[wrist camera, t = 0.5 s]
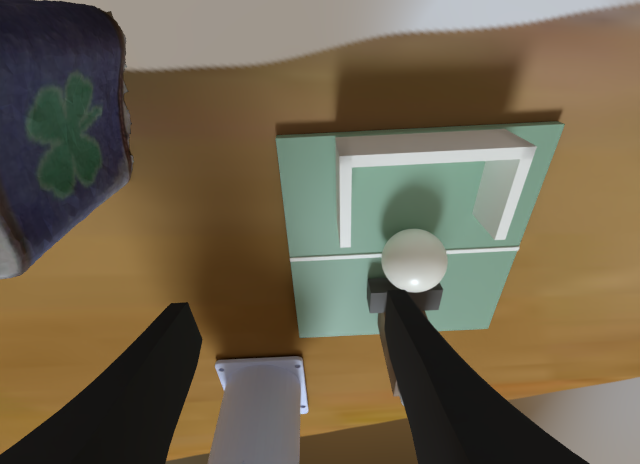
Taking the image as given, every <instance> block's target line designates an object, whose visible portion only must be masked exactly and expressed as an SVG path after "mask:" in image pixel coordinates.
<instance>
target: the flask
mask: <svg viewBox="0 0 640 464" xmlns="http://www.w3.org/2000/svg"><path fill="white" fill-rule="evenodd" d="M125 44H126V38H125V35H124V34H123V32H122V30H121V28H120V26H118V23H117V22H116V21H115V20H114V19H113V16H112V13H111V11H110V12H104V11H102V10H101V9H100V8H96V7H95V6H89V5H85V4H76V3H70V2H63V1H47V0H43V1H35V0H0V279H6V278H12V277H16V276H20V275H22V274H23V273H24V272H26V271H27V270H28V268H29V267H30V266H31V265H33V264H34V263H35V261H36V260H37V259H39V258H40V257H41V256H42V255H43V254H44V253H45V252H46V251H47V250H48V249H50V248H51V247H52V246H53V245H54V244H55V243H56V242H58V241H59V240H60V239H61V238H63V236H64V235H65V234H66V233H68V232H69V231H70V230H71V229H72V228H73V227H74V226H75V225H77V224H78V223H79V222H80V221H82V220H83V219H85V218H86V217H87V216H88V215H89V214H90V213H91V212H92V211H93V210H94V209H95V208H97V207H98V206H99V205H101V204H102V203H103V202H105V201H106V200H107V199H108V198H109V197H111V196H112V195H113V194H114V193H116V192H117V191H118V190H119V189H121V188H122V187H123V186H125V185H126V184H127V183H128V182H129V180H130V177H131V173H132V165H133V162H134V161H133V156H132V155H131V156H130V154H129V153H130V152H129V141H128V140H129V138H130V137H129V134H131V130H130V125H131V124H132V123H131V122H130V114H129V112H128V111H129V110H127V109H126V108H127V107H126V106H125V103H124V102H123V97H124V93H126V92H128V90H127V89H126V85H125V83H124V81H123V72H124V70H125V67H127V66H126V64H125V63H126V62H125V55H126V48H125Z"/></svg>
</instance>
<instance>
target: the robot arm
mask: <svg viewBox="0 0 640 464" xmlns="http://www.w3.org/2000/svg"><path fill="white" fill-rule="evenodd" d="M384 331H385V336H386V342H387V347H388V352H389V357H390V360H391V364H392V367H393V371H394V374H395V377H396V381H397V384H398V387H399V390H400V394H401V397H402V400H403V404H404V407H405V410H406V414H407V417H408V420H409V424H410V428H411V432H412V436H413V441H414V446H415V450H416V455H417V460H418V464H589V463H588V462H587V461H585V460H584V459H582V458H581V457H579V456H578V455H576V454H575V453H573V452H572V451H570V450H569V449H568V448H566V447H565V446H564V445H562V444H561V443H560V442H558V441H557V440H556V439H554V438H553V437H552V436H550V435H549V434H548V433H546V432H545V431H544V430H543V429H541V428H540V427H539V426H538V425H536V424H535V423H534V422H532V421H531V420H530V419H529V418H528V417H526V416H525V415H524V414H523V413H521V412H520V411H519V410H518V409H516V408H515V407H514V406H513V405H512V404H510V403H509V402H508V401H507V400H506V399H505V398H503V397H502V396H501V395H500V394H499V393H498V392H497V391H495V390H494V389H493V388H492V387H491V386H490V385H489V384H488V383H487V382H486V381H485V380H484V379H482V378H481V377H480V376H479V375H478V374H477V373H476V372H475V371H474V370H473V369H472V368H471V367H470V366H469V365H468V364H467V363H466V362H465V361H464V360H463V359H462V358H461V357H460V356H459V355H458V353H457V352H456V351H455V350H454V349H453V348H452V347H451V346H450V345H449V344H448V343H447V341H446V340H445V339H444V338H443V337H442V336H441V335H440V333H439V332H438V331H437V330H436V329H435V328H434V326H433V325H432V324H431V323H430V321H429V320H428V319H427V318H426V316H425V315H424V314H423V313H422V311H421V310H420V309H419V307H418V306H417V305H416V303H415V302H414V301H413V299H412V298H411V297H410V295H409V294H408V292H407V291H406V290H387V301H386V313H385V325H384ZM201 344H202V337H201V335H200V332H199V330H198V327H197V325H196V322H195V320H194V317H193V314H192V312H191V309H190V307H189V304H188V302H186V303H171V304H170V305H169V306H168V307H167V308H166V309H165V310H164V311H163V312H162V313H161V314H160V315H159V316H158V317H157V318H156V319H155V320H154V321H153V323H152V324H151V325H150V326H149V327H148V328H147V329H146V330H145V331H144V332H143V333H142V334H141V335H140V336H139V337H138V338H137V339H136V340H135V341H134V342H133V343H132V344H131V345H130V346H129V347H128V348H127V349H126V350H125V351H124V352H123V353H122V354H121V355H120V356H119V357H118V358H117V359H116V360H115V361H114V362H113V363H112V364H111V365H110V366H109V367H108V368H107V369H106V370H105V371H104V372H102V373H101V374H100V375H99V376H98V377H97V378H96V379H95V380H94V381H93V382H92V383H91V384H90V385H88V386H87V387H86V388H85V389H84V390H83V391H82V392H80V393H79V394H78V395H77V396H76V397H75V398H73V399H72V400H71V401H70V402H69V403H67V404H66V405H65V406H64V407H63V408H61V409H60V410H59V411H58V412H56V413H55V414H54V415H53V416H51V417H50V418H49V419H48V420H46V421H45V422H44V423H42V424H41V425H40V426H38V427H37V428H36V429H34V430H33V431H32V432H30V433H29V434H28V435H27V436H25V437H24V438H23V439H21V440H20V441H19V442H17V443H16V444H15V445H13V446H12V447H10V448H9V449H8V450H6V451H5V452H3V453H2V454H1V455H0V464H165V462H166V458H167V454H168V450H169V447H170V443H171V440H172V437H173V434H174V431H175V428H176V425H177V422H178V419H179V416H180V414H181V411H182V408H183V405H184V402H185V399H186V397H187V394H188V391H189V388H190V385H191V382H192V379H193V376H194V373H195V370H196V367H197V363H198V359H199V354H200V349H201ZM215 368H216V371H217V373H218V376H219V378H220V381H221V384H222V386H223V389H224V395H223V400H222V404H221V408H220V413H219V417H218V421H217V425H216V430H215V434H214V438H213V443H212V447H211V451H210V455H209V460H208V464H299V445H300V414H306V413H307V412H308V400H307V392H306V384H305V375H304V367H303V359H302V358H301V357H299V356H290V357H269V358H249V359H228V360H218V361H216V363H215Z"/></svg>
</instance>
